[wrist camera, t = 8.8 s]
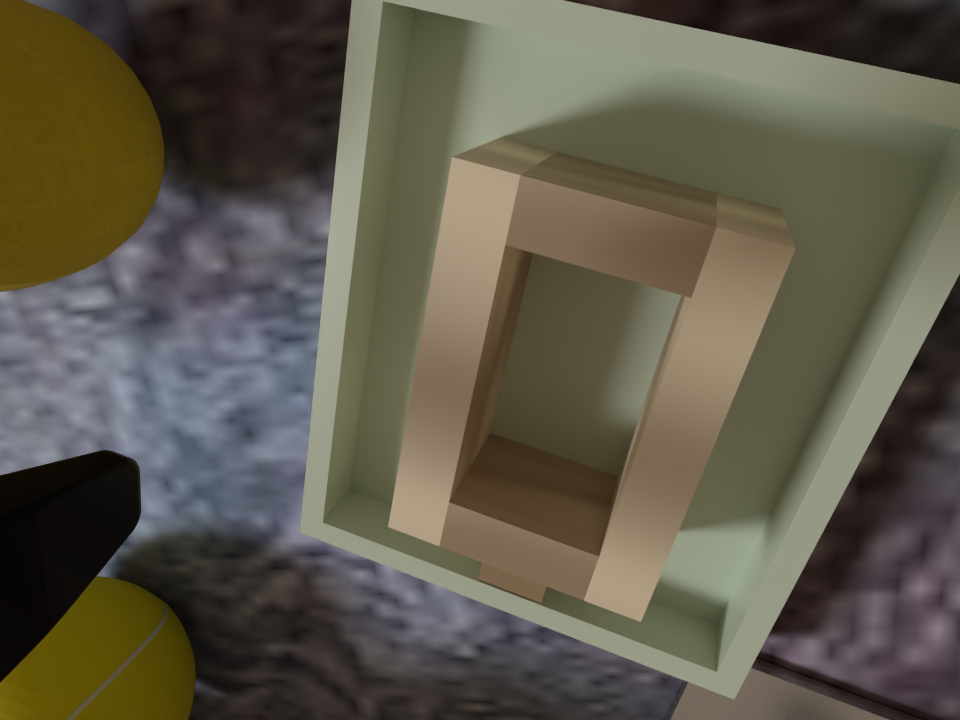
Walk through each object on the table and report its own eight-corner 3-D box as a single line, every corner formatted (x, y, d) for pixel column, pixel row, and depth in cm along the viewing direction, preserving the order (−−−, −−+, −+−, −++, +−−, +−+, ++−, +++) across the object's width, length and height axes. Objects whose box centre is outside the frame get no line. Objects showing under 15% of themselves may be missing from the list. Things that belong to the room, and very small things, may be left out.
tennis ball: (228, 565, 23) (48, 755, 17) (245, 716, 26) (96, 925, 20) (53, 514, 24) (-170, 669, 18) (86, 661, 27) (-96, 837, 21)
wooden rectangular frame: (501, 137, 14) (452, 156, 12) (780, 208, 13) (795, 248, 11) (425, 512, 19) (377, 587, 16) (631, 588, 18) (616, 681, 15)
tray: (732, 636, 18) (734, 699, 16) (336, 490, 20) (299, 532, 18) (1002, 95, 12) (1050, 102, 10) (400, -33, 14) (356, -44, 12)
